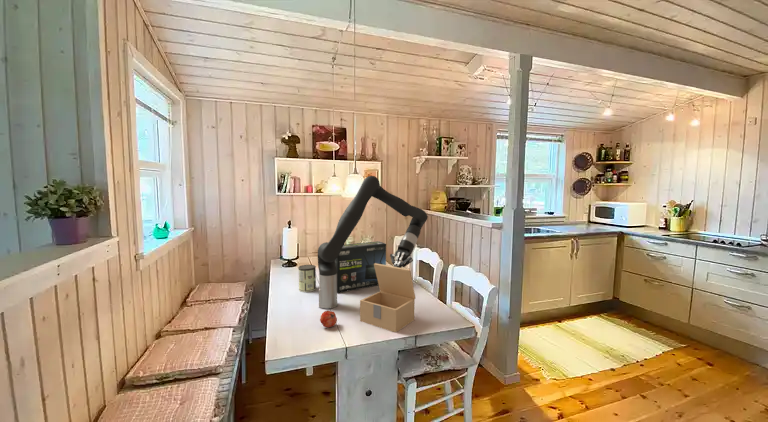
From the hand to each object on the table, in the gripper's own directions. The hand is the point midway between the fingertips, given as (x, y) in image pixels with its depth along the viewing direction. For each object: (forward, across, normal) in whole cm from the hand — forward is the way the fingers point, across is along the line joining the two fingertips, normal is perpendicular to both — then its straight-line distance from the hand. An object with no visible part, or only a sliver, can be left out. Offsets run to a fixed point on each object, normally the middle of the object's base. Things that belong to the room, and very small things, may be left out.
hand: (394, 272), depth 157 cm
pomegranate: (+34, -18, -3) cm, 39 cm away
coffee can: (+13, -65, +18) cm, 69 cm away
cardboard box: (+19, 0, +11) cm, 23 cm away
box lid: (+3, 0, +3) cm, 4 cm away
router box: (-3, -44, +34) cm, 56 cm away
